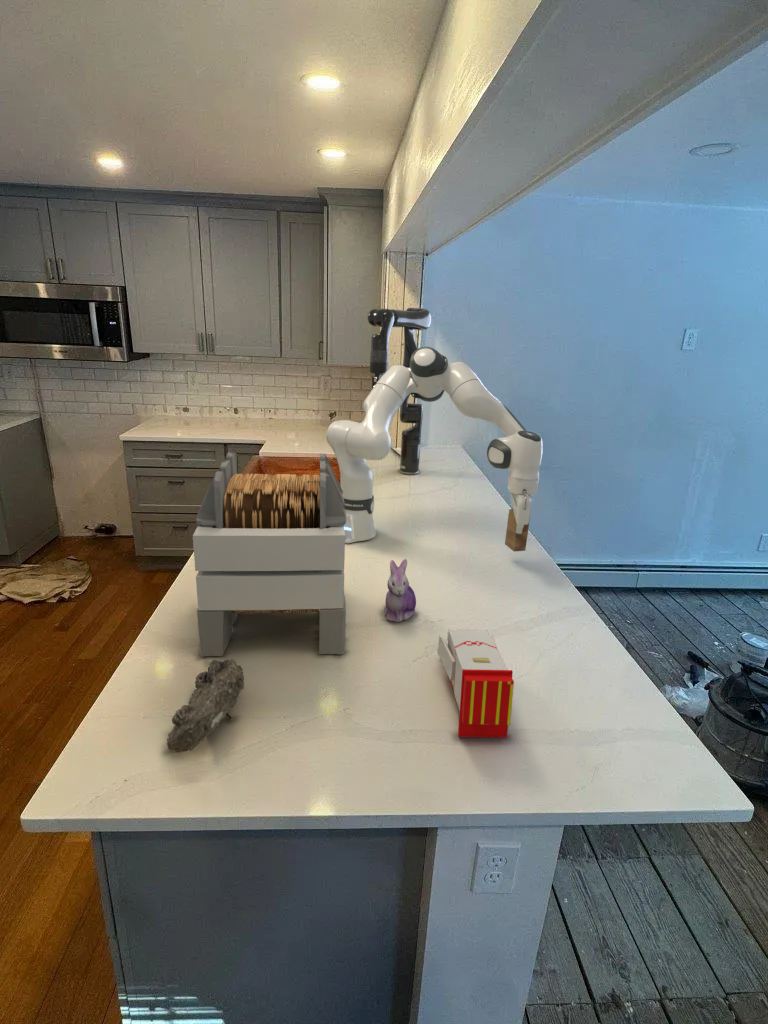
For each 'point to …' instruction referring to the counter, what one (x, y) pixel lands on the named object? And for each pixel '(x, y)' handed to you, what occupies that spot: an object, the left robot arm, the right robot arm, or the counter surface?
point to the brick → (515, 534)
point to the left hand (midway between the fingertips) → (517, 527)
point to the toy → (478, 682)
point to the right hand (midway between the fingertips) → (377, 400)
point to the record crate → (270, 552)
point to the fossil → (206, 705)
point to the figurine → (399, 594)
